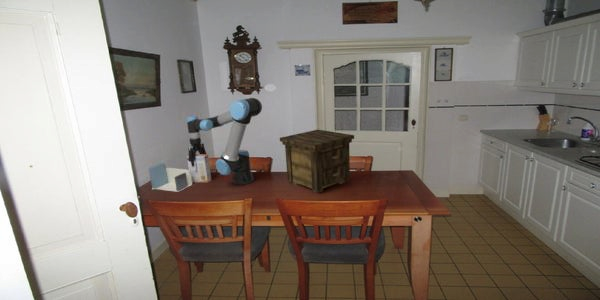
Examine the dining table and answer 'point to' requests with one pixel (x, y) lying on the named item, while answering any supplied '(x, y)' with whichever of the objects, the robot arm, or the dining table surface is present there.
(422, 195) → the dining table surface
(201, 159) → the cracker box
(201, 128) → the robot arm
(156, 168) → the book rack
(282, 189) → the dining table surface
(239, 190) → the dining table surface
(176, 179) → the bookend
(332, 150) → the wooden drawer cabinet
